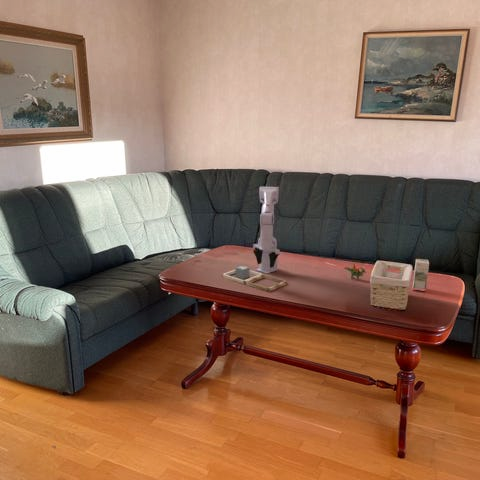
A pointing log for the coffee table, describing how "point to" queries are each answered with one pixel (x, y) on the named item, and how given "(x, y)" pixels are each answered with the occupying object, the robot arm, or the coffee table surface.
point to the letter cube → (242, 272)
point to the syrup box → (420, 274)
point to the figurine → (355, 271)
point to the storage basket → (390, 284)
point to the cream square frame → (226, 275)
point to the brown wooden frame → (282, 282)
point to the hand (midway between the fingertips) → (265, 265)
